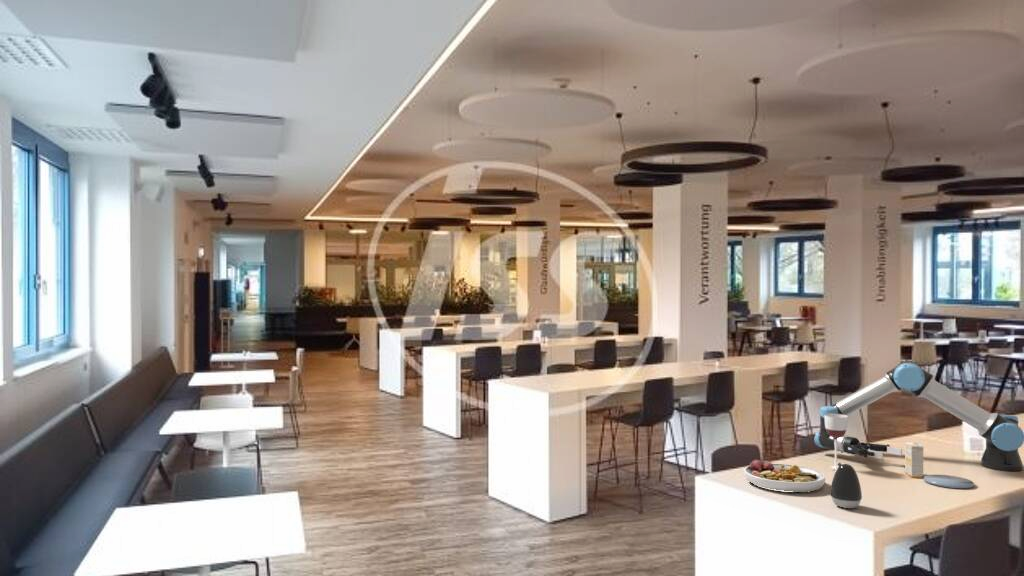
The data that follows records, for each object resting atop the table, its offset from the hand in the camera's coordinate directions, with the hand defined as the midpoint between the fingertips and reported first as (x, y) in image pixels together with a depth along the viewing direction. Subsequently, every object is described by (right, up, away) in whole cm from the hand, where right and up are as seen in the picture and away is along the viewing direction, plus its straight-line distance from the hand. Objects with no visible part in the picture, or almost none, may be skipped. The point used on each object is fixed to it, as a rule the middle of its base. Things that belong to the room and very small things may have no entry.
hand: (892, 454), depth 309 cm
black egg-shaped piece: (-44, -7, -52) cm, 69 cm away
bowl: (-55, -7, -23) cm, 60 cm away
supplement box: (+5, -7, -8) cm, 12 cm away
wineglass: (-23, -7, +2) cm, 24 cm away
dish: (+12, -7, -21) cm, 25 cm away
